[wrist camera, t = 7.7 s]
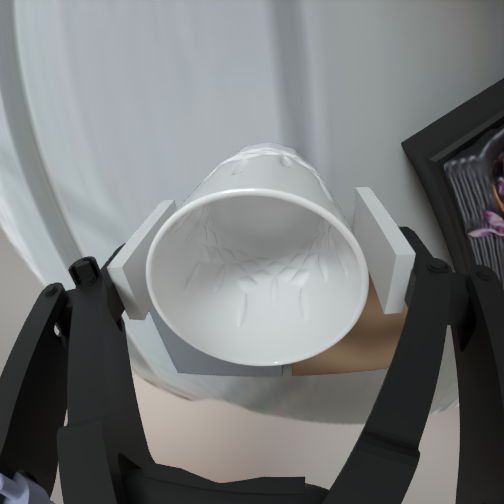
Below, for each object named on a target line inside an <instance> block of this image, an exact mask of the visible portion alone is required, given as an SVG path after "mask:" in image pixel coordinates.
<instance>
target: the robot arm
mask: <svg viewBox="0 0 504 504" xmlns="http://www.w3.org/2000/svg"><path fill="white" fill-rule="evenodd" d="M176 210H177V208H176V204H175V200H167V201H162V202H161V203H160V204H159V205H158V206H157V208H156V209H155V210H154V211H153V212H152V213H151V214H150V216H149V217H148V218H147V219H146V220H145V221H144V222H143V224H142V225H141V226H140V227H139V228H138V229H137V231H136V232H135V233H134V234H133V235H132V237H131V238H130V239H129V240H128V241H127V243H124V244H123V245H122V246H120V247H119V248H118V249H117V250H116V251H115V252H114V253H113V255H112V256H111V257H110V258H109V261H107V262H106V263H105V264H104V266H103V267H102V268H101V270H100V269H99V266H98V264H97V262H96V259H95V258H94V257H84V258H82V259H79V260H77V261H76V262H74V263H73V264H72V265H71V266H70V268H69V273H70V275H71V277H72V279H73V281H74V283H75V285H76V289H72V290H68V291H65V289H64V287H63V285H62V283H53V284H50V285H48V286H47V287H46V288H45V289H44V290H43V291H42V292H41V294H40V295H39V297H38V299H37V301H36V302H35V304H34V306H33V308H32V310H31V312H30V314H29V316H28V317H27V319H26V321H25V323H24V325H23V327H22V329H21V332H20V334H19V336H18V338H17V340H16V342H15V344H14V346H13V349H12V351H11V353H10V355H9V358H8V360H7V362H6V365H5V367H4V370H3V372H2V374H1V377H0V504H55V503H54V502H53V501H51V500H50V497H51V494H52V491H53V487H54V483H55V479H56V472H57V466H58V463H59V472H60V481H61V489H62V496H63V502H64V504H401V503H402V501H403V498H404V496H405V494H406V492H407V490H408V487H409V485H410V483H411V480H412V478H413V475H414V473H415V470H416V468H417V465H418V462H419V457H420V452H419V450H418V447H419V443H420V440H421V437H422V434H423V431H424V428H425V424H426V421H427V418H428V414H429V411H430V407H431V404H432V400H433V396H434V392H435V388H436V384H437V379H438V375H439V370H440V365H441V360H442V355H443V349H444V343H445V336H446V330H447V325H451V331H452V337H453V344H454V351H455V359H456V367H457V377H458V390H459V408H460V452H459V470H458V481H457V491H456V504H504V289H503V287H502V285H501V283H500V280H499V278H498V276H497V275H496V273H495V272H494V271H493V270H492V269H491V268H489V267H487V266H485V265H473V266H471V268H470V270H469V273H468V275H465V274H459V273H453V272H452V270H451V267H450V266H449V265H448V264H447V263H446V262H444V261H443V260H440V259H437V258H433V257H432V255H431V254H430V252H429V251H428V249H427V248H426V247H425V245H424V244H423V242H422V241H421V240H420V239H419V237H418V236H417V234H416V233H415V232H414V231H413V230H411V229H410V228H408V227H398V226H397V225H396V223H395V222H394V221H393V219H392V218H391V216H390V215H389V214H388V212H387V211H386V209H385V208H384V207H383V205H382V204H381V203H380V201H379V200H378V199H377V197H376V196H375V195H374V193H373V192H372V191H371V189H370V188H369V187H355V209H354V230H353V233H354V236H355V237H356V239H357V241H358V243H359V245H360V247H361V249H362V251H363V254H364V256H365V259H366V263H367V267H368V271H369V273H370V276H371V278H372V281H373V284H374V287H375V289H376V292H377V295H378V298H379V300H380V303H381V306H382V309H383V312H384V314H392V313H402V310H403V306H404V302H405V303H406V305H407V307H408V311H407V314H406V318H405V321H404V324H403V328H402V331H401V334H400V337H399V340H398V344H397V347H396V349H395V352H394V355H393V358H392V361H391V364H390V366H389V369H388V372H387V374H386V377H385V380H384V382H383V385H382V387H381V390H380V392H379V394H378V397H377V399H376V402H375V404H374V406H373V408H372V411H371V413H370V415H369V417H368V420H367V422H366V424H365V426H364V428H363V430H362V432H361V434H360V437H359V438H358V440H357V442H356V444H355V446H354V448H353V450H352V452H351V454H350V456H349V457H348V459H347V461H346V463H345V465H344V467H343V468H342V470H341V472H340V473H339V475H338V477H337V479H336V480H335V482H334V484H333V485H332V487H331V488H330V490H327V489H325V488H322V487H319V486H316V485H311V484H306V483H305V477H260V478H254V479H248V480H242V481H235V482H227V483H217V482H213V481H211V480H208V479H205V478H203V477H200V476H198V475H195V474H193V473H190V472H188V471H186V470H183V469H181V468H176V467H170V466H165V465H161V464H156V463H155V462H154V460H153V458H152V457H151V455H150V452H149V449H148V445H147V442H146V438H145V434H144V430H143V425H142V421H141V417H140V413H139V409H138V403H137V399H136V394H135V388H134V384H133V378H132V372H131V366H130V360H129V353H128V346H127V339H126V331H125V323H124V320H123V318H122V316H121V315H122V313H123V312H124V310H125V311H126V313H127V315H128V317H129V319H134V320H145V318H146V316H147V314H148V312H149V310H150V308H151V306H152V304H153V302H152V300H151V298H150V295H149V291H148V287H147V282H146V262H147V256H148V252H149V249H150V246H151V244H152V242H153V240H154V238H155V236H156V234H157V233H158V231H159V230H160V228H161V227H162V226H163V224H164V223H165V222H166V221H167V220H168V219H169V218H170V216H171V215H172V214H173V213H174V212H175V211H176ZM55 325H56V327H57V329H58V330H59V335H58V336H57V335H56V334H55V332H54V326H55ZM66 410H68V423H67V426H64V421H65V415H66Z"/></svg>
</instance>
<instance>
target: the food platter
mask: <svg viewBox="0 0 504 504" xmlns="http://www.w3.org/2000/svg"><path fill="white" fill-rule="evenodd" d="M401 144H402V146H403V148H404V150H405V152H406V153H407V155H408V157H409V159H410V161H411V163H412V165H413V167H414V169H415V171H416V173H417V175H418V177H419V179H420V181H421V184H422V186H423V188H424V190H425V192H426V194H427V197H428V199H429V201H430V204H431V206H432V208H433V211H434V213H435V215H436V218H437V220H438V223H439V225H440V228H441V231H442V233H443V236H444V239H445V241H446V244H447V247H448V250H449V253H450V256H451V259H452V262H453V265H454V268H455V271H456V273H459V274H465V275H468V273H469V270H470V268H471V266H473V265H485V266H487V267H489V268H491V269H492V270H493V271H494V272H495V273H496V275H497V276H498V278H499V280H500V283H501V285H502V287H503V289H504V78H503V79H502V80H500V81H498V82H497V83H495V84H494V85H492V86H490V87H489V88H487V89H486V90H484V91H482V92H481V93H479V94H478V95H476V96H474V97H473V98H471V99H470V100H468V101H466V102H465V103H463V104H462V105H460V106H459V107H457V108H455V109H454V110H452V111H451V112H449V113H447V114H446V115H444V116H443V117H441V118H440V119H438V120H436V121H435V122H433V123H432V124H430V125H429V126H427V127H425V128H424V129H422V130H421V131H419V132H418V133H416V134H415V135H413V136H411V137H410V138H408V139H407V140H405V141H404V142H402V143H401ZM489 264H490V265H489Z"/></svg>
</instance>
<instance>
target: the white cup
mask: <svg viewBox="0 0 504 504" xmlns="http://www.w3.org/2000/svg"><path fill="white" fill-rule="evenodd" d="M146 282H147V287H148V291H149V295H150V298H151V300H152V302H153V305H154V307H155V308H156V310H157V312H158V314H159V315H160V317H161V318H162V319H163V321H164V322H165V323H166V324H167V326H168V327H169V328H170V329H171V330H172V331H173V332H174V333H175V334H176V335H178V336H179V337H180V338H181V339H182V340H184V341H185V342H187V343H188V344H189V345H191V346H193V347H194V348H196V349H198V350H200V351H202V352H204V353H206V354H208V355H210V356H213V357H215V358H218V359H221V360H224V361H228V362H232V363H236V364H242V365H250V366H277V365H285V364H290V363H295V362H299V361H302V360H305V359H308V358H311V357H313V356H315V355H318V354H320V353H322V352H324V351H325V350H327V349H329V348H330V347H332V346H333V345H335V344H336V343H337V342H339V341H340V340H341V339H342V338H343V337H344V336H345V335H346V334H347V333H348V332H349V331H350V330H351V329H352V328H353V326H354V325H355V324H356V322H357V320H358V319H359V317H360V315H361V313H362V311H363V309H364V306H365V304H366V300H367V296H368V290H369V273H368V267H367V263H366V259H365V256H364V254H363V251H362V249H361V247H360V245H359V243H358V241H357V239H356V237H355V236H354V234H353V232H352V230H351V228H350V226H349V224H348V222H347V220H346V219H345V217H344V215H343V213H342V211H341V209H340V207H339V206H338V204H337V202H336V200H335V198H334V197H333V195H332V193H331V192H330V190H329V189H328V187H327V186H326V184H325V182H324V181H323V179H322V178H321V177H320V175H319V174H318V173H317V172H316V171H315V169H314V167H313V165H312V164H311V163H309V162H308V161H307V160H306V159H305V158H304V157H303V156H302V155H300V154H299V153H298V152H297V151H296V150H295V149H293V148H289V147H286V146H282V145H279V144H275V143H271V142H266V143H261V144H255V145H250V146H245V147H243V148H241V149H240V150H239V151H237V152H236V153H235V154H233V155H232V156H231V157H229V158H228V159H226V160H225V161H223V162H222V163H221V164H220V165H219V166H218V167H216V168H215V169H214V170H213V171H212V172H211V173H210V174H209V175H208V176H207V177H206V178H205V179H204V180H203V181H202V182H201V183H200V184H199V185H198V186H197V188H196V189H195V190H194V191H193V192H192V193H191V194H190V195H189V196H188V197H187V199H186V200H185V201H184V202H183V203H182V204H181V205H180V206H179V207H178V209H177V210H176V211H175V212H174V213H173V214H172V215H171V216H170V218H169V219H168V220H167V221H166V222H165V223H164V224H163V226H162V227H161V228H160V230H159V231H158V233H157V234H156V236H155V238H154V240H153V242H152V244H151V246H150V249H149V252H148V256H147V262H146Z"/></svg>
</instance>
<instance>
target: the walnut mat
mask: <svg viewBox="0 0 504 504" xmlns="http://www.w3.org/2000/svg"><path fill="white" fill-rule="evenodd" d="M368 273H369V271H368ZM407 311H408V307H407V305H406V303H405V302H404V306H403V310H402V313H392V314H384V312H383V309H382V306H381V303H380V300H379V298H378V295H377V292H376V289H375V287H374V284H373V281H372V278H371V276H370V273H369V290H368V296H367V300H366V304H365V306H364V309H363V311H362V313H361V315H360V317H359V319H358V320H357V322H356V324H355V325H354V326H353V328H352V329H351V330H350V331H349V332H348V333H347V334H346V335H345V336H344V337H343V338H342V339H341V340H340V341H339V342H337V343H336V344H335V345H333V346H332V347H330V348H329V349H327V350H325V351H324V352H322V353H320V354H318V355H315V356H313V357H311V358H308V359H305V360H302V361H299V362H295V363H292V376H303V375H322V374H337V373H349V372H359V371H368V370H377V369H385V368H389V366H390V364H391V361H392V358H393V355H394V352H395V349H396V347H397V344H398V340H399V337H400V334H401V331H402V328H403V324H404V321H405V318H406V314H407Z"/></svg>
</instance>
